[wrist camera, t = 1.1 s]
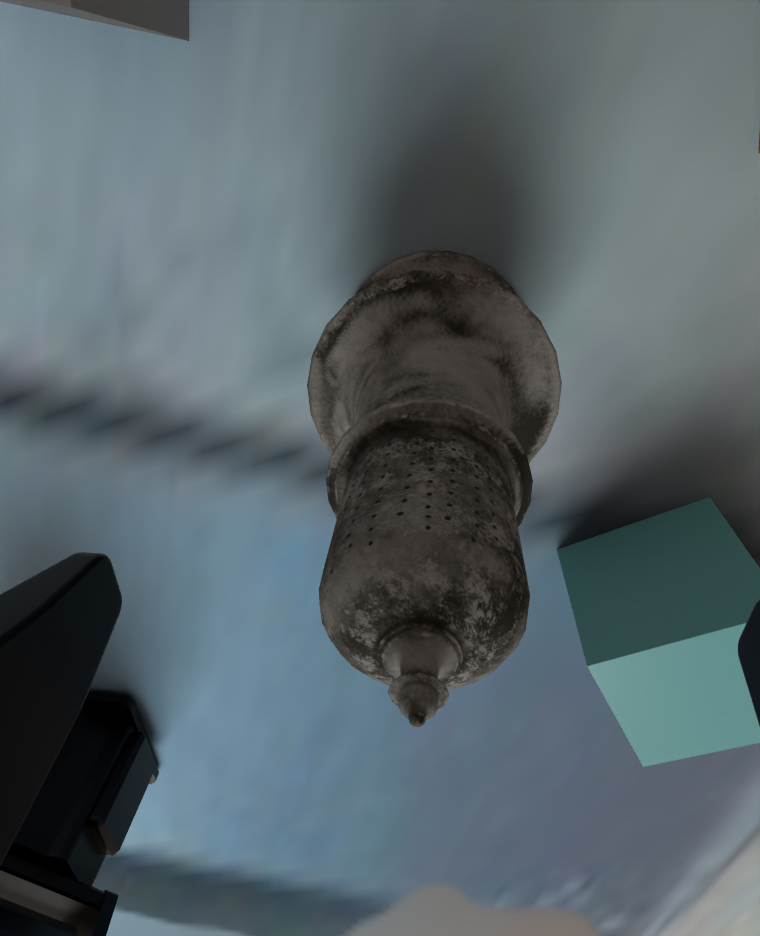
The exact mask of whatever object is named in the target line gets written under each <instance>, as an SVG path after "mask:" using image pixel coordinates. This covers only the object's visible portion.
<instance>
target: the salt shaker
mask: <svg viewBox="0 0 760 936" xmlns="http://www.w3.org/2000/svg"><path fill="white" fill-rule="evenodd" d="M561 384H562V383H561V377H560V371H559V365H558V360H557V354H556V350H555V348H554V346H553V344H552V343H551V341H550V339H549V337H548V335H547V333H546V331H545V329H544V327H543V325H542V323H541V321H540V320H539V319H538V318H537V317H536V316H535V315H534V314H533V312H532V311H531V310H530V309H529V308H528V307H527V306H526V305H525V304H524V303H523V302H522V301H521V300H520V299H519V298H518V297H517V296H516V294H515V292H514V290H513V288H512V287H511V286H510V285H509V284H508V283H507V282H506V281H505V280H504V279H503V278H502V277H501V276H500V275H499V274H498V273H497V272H496V271H495V270H494V269H492V268H490V267H489V266H487V265H485V264H484V263H482V262H480V261H478V260H477V259H475V258H473V257H470V256H466V255H462V254H458V253H454V252H450V251H428V252H418V253H415V254H412V255H409V256H405V257H402V258H399V259H396V260H394V261H393V262H391V263H390V264H388V265H386V266H385V267H383V268H382V269H380V270H379V271H377V272H376V273H374V274H373V275H372V276H371V277H370V279H369V280H368V281H367V282H366V283H365V284H364V285H363V286H362V288H361V289H360V290H359V291H358V292H357V294H356V296H354V297H352V298H351V299H349V300H348V301H347V302H346V303H345V305H344V306H343V307H342V308H341V309H340V310H339V311H338V313H337V314H336V315H335V316H334V317H333V318H332V319H331V320H330V322H329V323H328V324H327V325H326V327H325V329H324V331H323V333H322V335H321V337H320V340H319V342H318V344H317V346H316V348H315V350H314V352H313V354H312V359H311V365H310V371H309V378H308V384H307V387H308V395H309V403H310V411H311V416H312V418H313V421H314V423H315V426H316V428H317V430H318V433H319V435H320V438H321V440H322V442H323V443H324V445H325V446H326V447H327V449H328V450H329V451H330V453H331V454H332V455H331V458H330V463H329V468H328V472H327V477H326V482H327V491H328V500H329V503H330V505H331V507H332V510H333V512H334V514H335V516H336V519H337V521H336V525H335V528H334V532H333V536H332V540H331V543H330V547H329V551H328V555H327V559H326V562H325V566H324V570H323V574H322V579H321V583H320V587H319V600H320V611H321V618H322V624H323V626H324V628H325V630H326V632H327V634H328V636H329V638H330V640H331V642H332V643H333V644H334V646H335V647H336V648H337V650H338V651H339V652H340V654H341V655H342V656H343V657H344V658H345V659H346V660H347V661H348V662H349V663H350V664H351V665H352V666H353V667H354V668H356V669H357V670H359V671H360V672H362V673H363V674H365V675H367V676H368V677H370V678H372V679H375V680H377V681H380V682H382V683H385V684H387V685H390V688H389V690H388V693H389V696H390V698H391V700H392V702H393V703H394V704H396V705H397V706H399V709H400V711H401V713H402V715H404V716H405V717H406V718H408V719H409V722H410V724H411V725H413V726H414V727H420V726H422V725H424V723H425V721H426V720H427V719H429V718H431V717H433V716H434V714H435V712H436V710H437V709H439V708H440V707H442V706H444V705H445V703H446V701H447V699H448V697H449V693H448V690H447V689H453V688H457V687H460V686H464V685H467V684H470V683H473V682H476V681H478V680H479V679H481V678H483V677H485V676H486V675H488V674H490V673H492V672H493V671H494V670H495V669H496V668H497V667H498V666H499V665H500V664H501V663H502V662H503V661H504V660H505V659H506V658H507V657H508V656H509V655H510V654H511V653H512V652H513V651H514V650H515V649H516V647H517V646H518V644H519V642H520V640H521V638H522V636H523V634H524V632H525V630H526V622H527V615H528V607H529V598H530V593H529V587H528V582H527V576H526V570H525V565H524V559H523V554H522V548H521V542H520V537H519V531H518V526H519V525H520V524H521V522H522V520H523V518H524V516H525V513H526V511H527V509H528V507H529V505H530V501H531V491H532V482H533V480H532V475H531V471H530V467H529V463H530V461H531V460H532V459H533V458H534V456H535V455H536V454H537V453H538V451H539V450H540V449H541V448H542V446H543V445H544V444H545V442H546V441H547V438H548V436H549V434H550V431H551V429H552V427H553V424H554V422H555V419H556V417H557V415H558V409H559V400H560V392H561Z"/></svg>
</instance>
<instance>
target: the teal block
mask: <svg viewBox="0 0 760 936" xmlns="http://www.w3.org/2000/svg"><path fill="white" fill-rule="evenodd" d="M557 552H558V556H559V559H560V563H561V567H562V571H563V575H564V579H565V582H566V586H567V590H568V594H569V598H570V602H571V605H572V609H573V613H574V617H575V621H576V625H577V628H578V632H579V636H580V640H581V644H582V648H583V651H584V655H585V659H586V663H587V667H588V668H589V670H590V672H591V674H592V675H593V677H594V679H595V681H596V683H597V684H598V686H599V688H600V690H601V692H602V693H603V695H604V697H605V699H606V701H607V702H608V704H609V706H610V708H611V710H612V711H613V713H614V715H615V717H616V718H617V720H618V722H619V724H620V726H621V727H622V729H623V731H624V733H625V735H626V736H627V738H628V740H629V742H630V744H631V745H632V747H633V749H634V751H635V753H636V754H637V756H638V758H639V760H640V762H641V763H642V765H643V767H645V766H650V765H655V764H659V763H664V762H669V761H674V760H679V759H684V758H688V757H693V756H698V755H703V754H708V753H713V752H717V751H722V750H727V749H732V748H737V747H741V746H746V745H751V744H756V743H760V726H759V723H758V720H757V716H756V713H755V710H754V706H753V703H752V700H751V697H750V693H749V690H748V687H747V683H746V680H745V677H744V673H743V670H742V667H741V664H740V660H739V656H738V642H739V638H740V636H741V634H742V632H743V629H744V627H745V625H746V623H747V621H748V619H749V617H750V615H751V612H752V610H753V608H754V606H755V604H756V603H757V602H758V601H759V600H760V568H759V567H758V565H757V564H756V562H755V561H754V560H753V558H752V557H751V555H750V554H749V552H748V551H747V549H746V548H745V547H744V545H743V544H742V542H741V541H740V539H739V538H738V537H737V535H736V534H735V532H734V531H733V529H732V528H731V526H730V525H729V524H728V522H727V521H726V519H725V518H724V516H723V515H722V513H721V512H720V511H719V509H718V508H717V506H716V505H715V503H714V502H713V501H712V499H711V498H710V497H708V498H705V499H702V500H699V501H696V502H693V503H690V504H687V505H685V506H682V507H679V508H676V509H673V510H670V511H667V512H664V513H661V514H659V515H656V516H653V517H650V518H647V519H644V520H641V521H638V522H635V523H632V524H630V525H627V526H624V527H621V528H618V529H615V530H612V531H609V532H606V533H604V534H601V535H598V536H595V537H592V538H589V539H586V540H583V541H580V542H578V543H575V544H572V545H569V546H566V547H563V548H560V549H557Z"/></svg>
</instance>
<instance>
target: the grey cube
mask: <svg viewBox="0 0 760 936" xmlns="http://www.w3.org/2000/svg"><path fill="white" fill-rule="evenodd" d="M0 1H2V2H7V3H12V4H17V5H21V6H26V7H31V8H36V9H40V10H45V11H50V12H54V13H59V14H64V15H69V16H73V17H78V18H83V19H88V20H92V21H97V22H102V23H106V24H111V25H116V26H121V27H125V28H130V29H135V30H140V31H144V32H149V33H154V34H159V35H163V36H168V37H173V38H177V39H182V40H187V41H189V0H0Z"/></svg>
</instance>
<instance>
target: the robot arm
mask: <svg viewBox="0 0 760 936" xmlns="http://www.w3.org/2000/svg"><path fill="white" fill-rule="evenodd" d="M121 605H122V597H121V592H120V589H119V586H118V583H117V579H116V576H115V573H114V570H113V567H112V563H111V561H110V559H109V558H108V557H107V556H106V555H104V554H99V553H84V552H82V553H76V554H73V555H71V556H70V557H68V558H66V559H64V560H62V561H61V562H59V563H57V564H55V565H53V566H51V567H50V568H48V569H46V570H44V571H42V572H41V573H39V574H37V575H35V576H33V577H32V578H30V579H28V580H26V581H24V582H22V583H21V584H19V585H17V586H15V587H13V588H12V589H10V590H8V591H6V592H4V593H2V594H1V595H0V936H106V934H107V931H108V927H109V924H110V921H111V918H112V915H113V912H114V908H115V905H116V902H117V899H118V894H116V893H114V892H111V891H109V890H105V891H102V890H99V889H97V888H94V887H92V885H93V883H94V880H95V878H96V876H97V874H98V872H99V869H100V867H101V865H102V863H103V861H104V858H105V856H106V855H110V856H113V855H114V854H116V853H117V852H118V851H119V850H120V848H121V845H122V843H123V841H124V839H125V836H126V834H127V832H128V830H129V827H130V825H131V823H132V820H133V818H134V816H135V814H136V811H137V809H138V807H139V805H140V802H141V800H142V798H143V796H144V793H145V791H146V789H147V786H148V784H152V783H154V782H155V781H156V779H157V777H158V774H159V771H158V768H157V765H156V762H155V759H154V756H153V754H152V751H151V748H150V745H149V742H148V739H147V736H146V733H145V730H144V728H143V725H142V722H141V719H140V716H139V713H138V710H137V707H136V704H135V702H134V700H133V699H132V698H131V697H129V696H127V695H123V694H112V693H101V692H89V689H90V687H91V684H92V682H93V679H94V677H95V674H96V672H97V669H98V667H99V664H100V662H101V659H102V657H103V654H104V651H105V649H106V646H107V644H108V641H109V639H110V636H111V634H112V631H113V629H114V626H115V624H116V621H117V618H118V616H119V613H120V610H121ZM738 656H739V660H740V664H741V667H742V670H743V673H744V677H745V680H746V683H747V687H748V690H749V693H750V697H751V700H752V703H753V706H754V710H755V713H756V716H757V720H758V723H759V726H760V600H759V601H758V602H757V603H756V604H755V606H754V608H753V610H752V612H751V615H750V617H749V619H748V621H747V623H746V625H745V627H744V629H743V632H742V634H741V636H740V638H739V642H738Z"/></svg>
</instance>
